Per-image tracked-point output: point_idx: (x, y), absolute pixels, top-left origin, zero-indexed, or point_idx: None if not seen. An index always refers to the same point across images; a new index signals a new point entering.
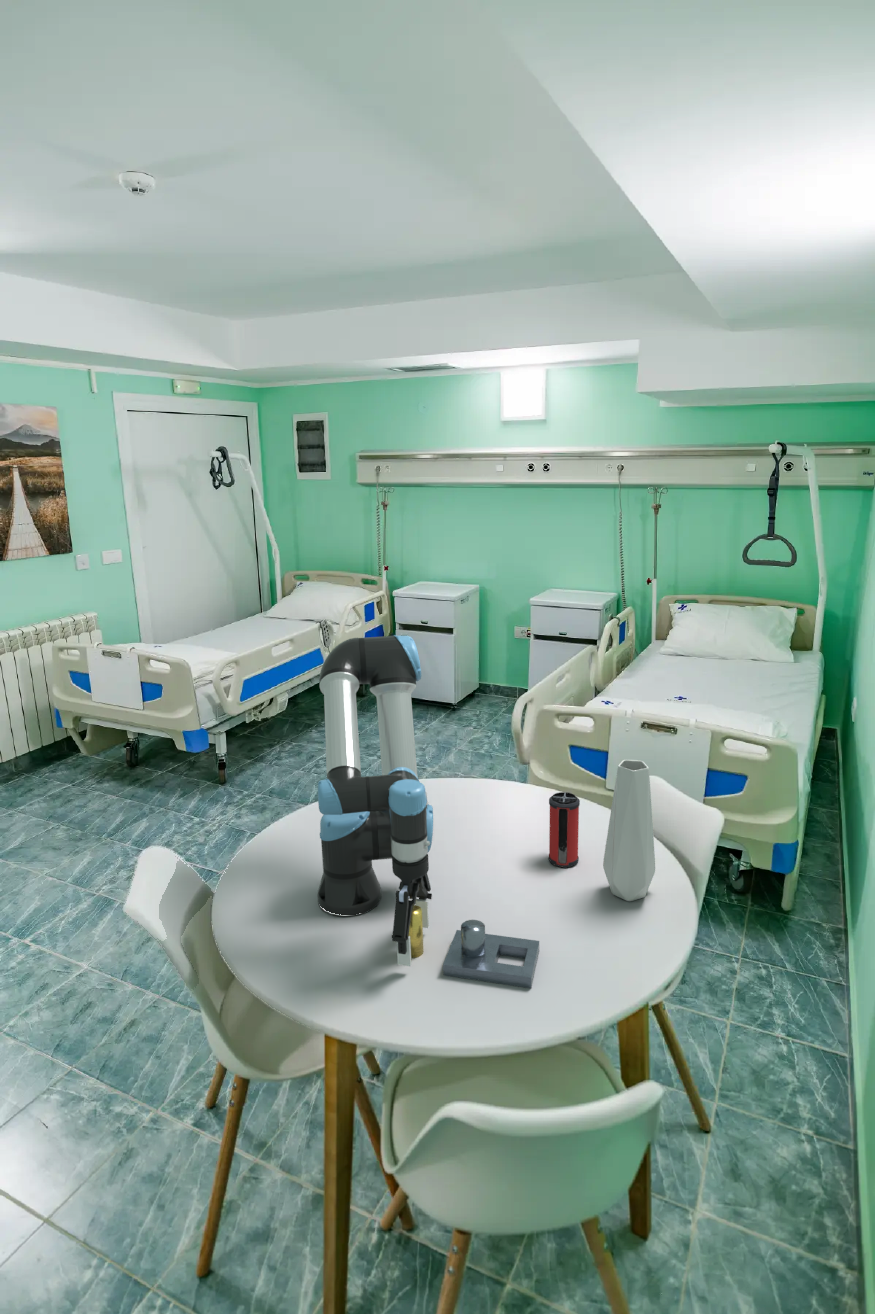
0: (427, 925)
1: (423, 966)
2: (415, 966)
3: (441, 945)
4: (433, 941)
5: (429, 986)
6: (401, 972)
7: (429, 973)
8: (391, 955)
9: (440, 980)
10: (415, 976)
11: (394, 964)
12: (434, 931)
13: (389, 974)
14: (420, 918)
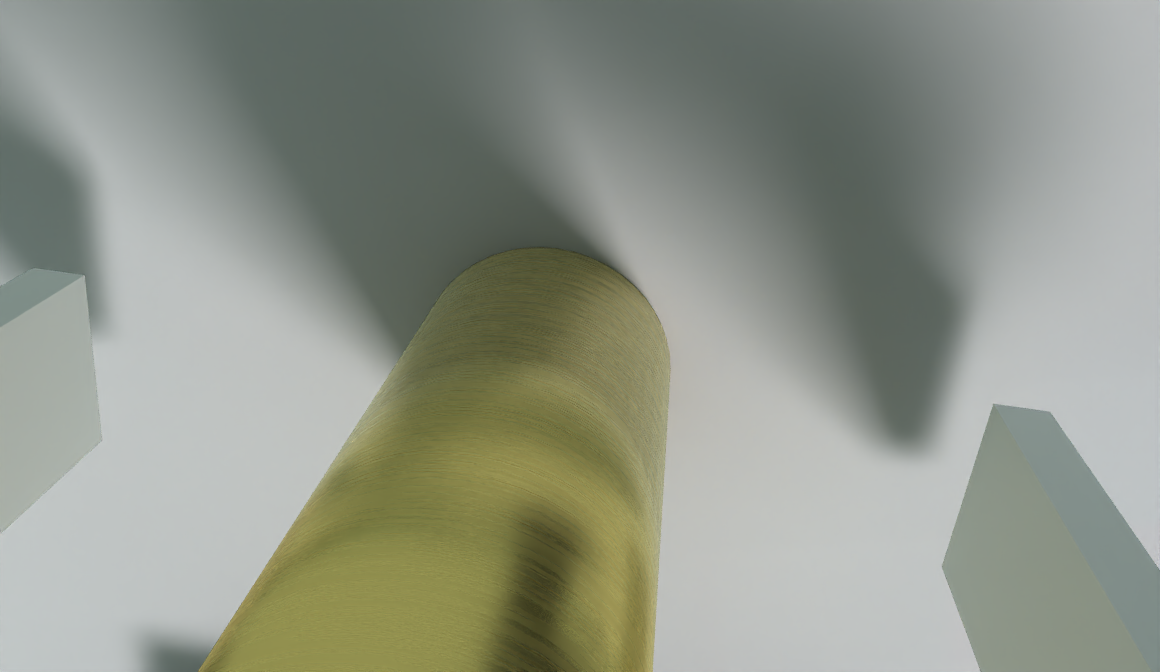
0: (956, 587)
1: (294, 496)
2: (271, 412)
3: (707, 648)
4: (783, 563)
5: (7, 577)
6: (120, 267)
7: (197, 563)
8: (421, 68)
9: (127, 664)
10: (105, 432)
11: (242, 150)
12: None
13: (36, 121)
14: None
